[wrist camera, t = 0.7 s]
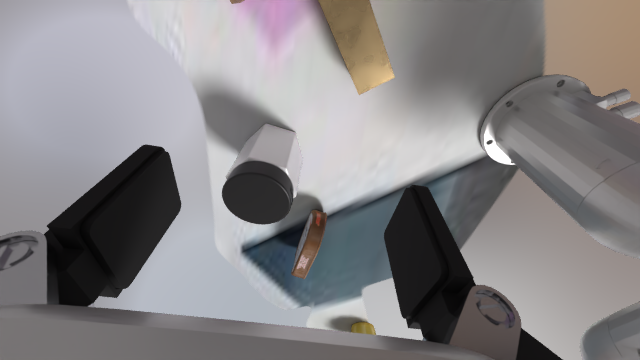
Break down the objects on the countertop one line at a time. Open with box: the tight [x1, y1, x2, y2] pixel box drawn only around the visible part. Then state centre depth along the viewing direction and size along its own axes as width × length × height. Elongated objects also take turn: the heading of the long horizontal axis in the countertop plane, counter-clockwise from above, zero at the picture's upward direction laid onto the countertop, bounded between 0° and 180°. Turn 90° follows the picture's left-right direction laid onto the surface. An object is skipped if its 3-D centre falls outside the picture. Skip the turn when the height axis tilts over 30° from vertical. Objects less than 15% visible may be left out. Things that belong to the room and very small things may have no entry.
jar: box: [222, 124, 303, 224], centre depth 34 cm, size 9×8×12 cm
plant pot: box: [351, 322, 376, 335], centre depth 71 cm, size 10×10×10 cm
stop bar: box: [318, 0, 395, 95], centre depth 26 cm, size 4×10×6 cm, turn 28°
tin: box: [291, 210, 327, 279], centre depth 46 cm, size 15×3×8 cm, turn 163°
